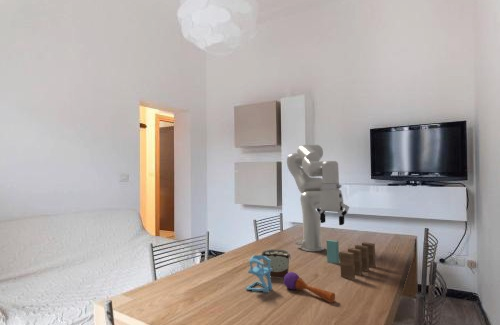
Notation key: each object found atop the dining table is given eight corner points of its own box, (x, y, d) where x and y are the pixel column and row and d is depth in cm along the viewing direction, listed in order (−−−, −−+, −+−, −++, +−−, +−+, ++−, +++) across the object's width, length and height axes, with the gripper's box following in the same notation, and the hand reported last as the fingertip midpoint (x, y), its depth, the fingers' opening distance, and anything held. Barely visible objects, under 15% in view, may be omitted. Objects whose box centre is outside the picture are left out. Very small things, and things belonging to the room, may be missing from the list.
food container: (294, 274, 123) (293, 250, 123) (291, 279, 117) (290, 254, 118) (265, 271, 127) (265, 248, 128) (261, 276, 121) (261, 252, 122)
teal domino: (336, 263, 135) (336, 242, 135) (327, 261, 139) (326, 240, 139) (339, 262, 136) (338, 241, 137) (329, 260, 140) (328, 239, 140)
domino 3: (367, 271, 124) (366, 247, 124) (355, 268, 128) (355, 245, 128) (369, 270, 125) (368, 246, 126) (357, 267, 129) (357, 244, 129)
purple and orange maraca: (326, 294, 94) (279, 274, 108) (328, 311, 94) (281, 288, 109) (336, 285, 98) (290, 267, 112) (337, 301, 98) (291, 281, 113)
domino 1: (352, 279, 115) (351, 254, 115) (340, 276, 119) (340, 251, 119) (355, 278, 116) (354, 253, 117) (343, 275, 120) (342, 250, 120)
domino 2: (360, 275, 120) (359, 250, 120) (348, 272, 123) (347, 248, 123) (362, 274, 121) (361, 249, 121) (350, 271, 125) (350, 247, 125)
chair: (265, 295, 103) (264, 260, 103) (245, 290, 107) (245, 257, 108) (275, 287, 110) (274, 255, 110) (256, 283, 114) (255, 252, 114)
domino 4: (373, 267, 129) (372, 244, 129) (362, 265, 132) (361, 242, 133) (375, 266, 130) (374, 243, 130) (364, 264, 134) (363, 242, 134)
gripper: (351, 187, 135) (353, 224, 134) (319, 186, 147) (320, 220, 147) (343, 187, 130) (345, 226, 129) (310, 187, 142) (311, 222, 141)
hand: (332, 223), depth 138 cm, fingers open, 9 cm apart
